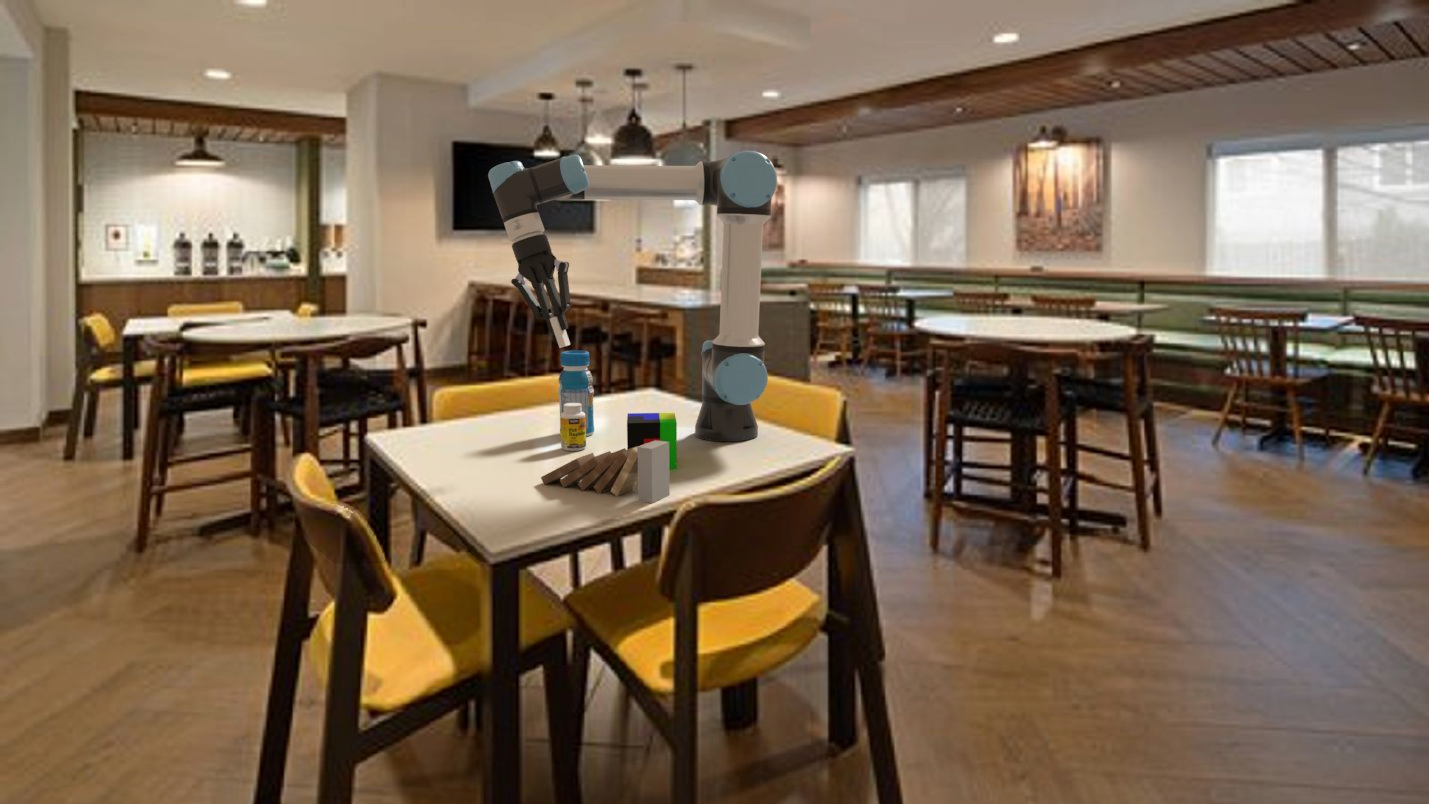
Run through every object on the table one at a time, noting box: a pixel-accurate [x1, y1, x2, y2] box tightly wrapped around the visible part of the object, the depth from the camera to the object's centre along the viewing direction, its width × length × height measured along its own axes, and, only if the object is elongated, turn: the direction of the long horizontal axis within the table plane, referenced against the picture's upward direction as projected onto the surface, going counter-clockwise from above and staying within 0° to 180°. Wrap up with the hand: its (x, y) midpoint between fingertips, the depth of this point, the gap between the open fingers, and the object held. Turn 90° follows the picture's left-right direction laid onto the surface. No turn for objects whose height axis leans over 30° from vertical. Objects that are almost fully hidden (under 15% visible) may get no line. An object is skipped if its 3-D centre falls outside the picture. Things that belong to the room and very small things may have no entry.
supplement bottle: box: [559, 403, 587, 452], centre depth 197 cm, size 6×6×10 cm
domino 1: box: [540, 452, 595, 485], centre depth 168 cm, size 2×5×10 cm
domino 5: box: [610, 443, 647, 497], centre depth 162 cm, size 2×5×10 cm
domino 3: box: [577, 448, 627, 492], centre depth 165 cm, size 2×5×10 cm
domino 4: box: [593, 446, 637, 494], centre depth 163 cm, size 2×5×10 cm
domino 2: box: [559, 450, 612, 489], centre depth 167 cm, size 2×5×10 cm
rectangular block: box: [637, 440, 671, 504], centre depth 159 cm, size 3×6×10 cm, turn 152°
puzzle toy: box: [626, 412, 678, 471], centre depth 184 cm, size 10×10×10 cm
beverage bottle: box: [557, 350, 595, 437], centre depth 210 cm, size 8×8×20 cm
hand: (565, 346), depth 185 cm, fingers closed
